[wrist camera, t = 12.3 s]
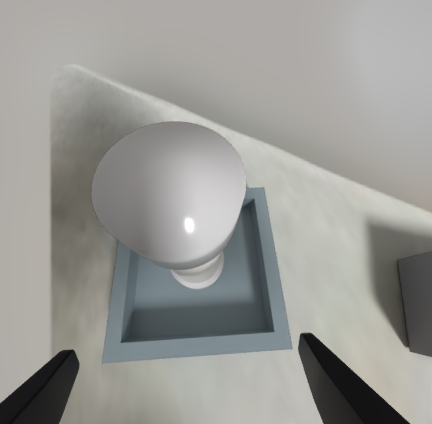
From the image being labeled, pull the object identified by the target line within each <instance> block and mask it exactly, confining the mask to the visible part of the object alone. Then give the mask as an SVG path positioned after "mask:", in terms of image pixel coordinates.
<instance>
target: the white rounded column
mask: <svg viewBox="0 0 432 424" xmlns="http://www.w3.org/2000/svg"><path fill="white" fill-rule="evenodd" d="M245 192H246V172H245V168H244V165H243V162H242V160H241V157H240V156H239V154H238V152H237V151H236V149H235V148H234V147H233V146H232V144H231V143H230V142H228V141H227V140H226V139H225V138H224V137H223V136H221V135H220V134H218V133H217V132H215V131H213V130H211V129H209V128H206V127H204V126H201V125H198V124H193V123H188V122H161V123H156V124H152V125H148V126H145V127H142V128H140V129H137V130H135V131H133V132H131V133H129V134H128V135H126V136H125V137H123V138H122V139H120V140H119V141H118V142H116V143H115V144H114V145H113V146H112V147H111V148H110V149H109V150H108V151H107V153H106V154H105V155H104V156H103V158H102V159H101V161H100V163H99V165H98V166H97V169H96V171H95V174H94V177H93V181H92V190H91V193H92V203H93V207H94V210H95V213H96V215H97V217H98V219H99V221H100V222H101V224H102V225H103V227H104V228H105V229H106V230H107V231H108V232H109V233H110V234H111V235H112V236H113V237H115V238H116V239H117V240H119V241H120V242H122V243H123V244H124V245H126V246H127V247H129V248H130V249H132V250H133V251H135V252H136V253H137V254H139V255H140V256H142V257H143V258H145V259H146V260H148V261H149V262H151V263H153V264H155V265H157V266H159V267H162V268H166V269H170V270H171V273H172V275H173V276H174V278H175V279H176V280H177V281H178V282H180V283H181V284H182V285H184V286H185V287H187V288H189V289H193V290H203V289H206V288H208V287H210V286H212V285H213V284H214V283H215V282H216V281H217V280H218V279H219V277H220V275H221V272H222V269H223V265H224V253H223V250H224V249H225V247H226V246H227V245H228V243H229V241H230V239H231V238H232V235H233V232H234V230H235V226H236V223H237V220H238V216H239V213H240V210H241V207H242V203H243V200H244V196H245Z"/></svg>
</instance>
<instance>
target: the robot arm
mask: <svg viewBox="0 0 432 424" xmlns="http://www.w3.org/2000/svg"><path fill="white" fill-rule="evenodd" d="M298 350H299V355H300V358H301V361H302V364H303V367H304V371H305V374H306V377H307V380H308V383H309V386H310V390H311V393H312V396H313V399H314V401H315V404H316V406H317V409H318V411H319V414H320V416H321V419H322V421H323V423H324V424H410V423H409V422H408V421H407V420H406V419H404V418H403V417H402V416H401V415H400V414H399V413H398V412H397V411H396V410H395V409H394V408H392V407H391V406H390V405H389V404H388V403H387V402H386V401H385V400H384V399H383V398H382V397H381V396H379V395H378V394H377V393H376V392H375V391H374V390H373V389H372V388H371V387H370V386H369V385H367V384H366V383H365V382H364V381H363V380H362V379H361V378H360V377H359V376H358V375H357V374H356V373H354V372H353V371H352V370H351V369H350V368H349V367H348V366H347V365H346V364H345V363H344V362H343V361H341V360H340V359H339V358H338V357H337V356H336V355H335V354H334V353H333V352H332V351H331V350H329V349H328V348H327V347H326V346H325V345H324V344H323V343H322V342H321V341H320V340H319V339H318V338H316V337H315V336H314V335H313V334H312V333H301V334H300V339H299V346H298ZM78 370H79V361H78V358H77V356H76V353H75V351H74V350H63V351H61V352H59V353H58V354H57V355H56V356H54V357H53V358H52V359H51V360H50V361H49V362H48V363H46V364H45V365H44V366H43V367H42V368H41V369H39V370H38V371H37V372H36V373H35V374H34V375H33V376H31V377H30V378H29V379H28V380H27V381H26V382H24V383H23V384H22V385H21V386H20V387H19V388H17V389H16V390H15V391H14V392H13V393H12V394H11V395H9V396H8V397H7V398H6V399H5V400H4V401H2V402H1V403H0V424H59V422H60V420H61V417H62V415H63V412H64V409H65V406H66V404H67V401H68V398H69V395H70V393H71V390H72V387H73V384H74V382H75V379H76V376H77V373H78Z"/></svg>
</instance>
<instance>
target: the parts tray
mask: <svg viewBox="0 0 432 424" xmlns="http://www.w3.org/2000/svg"><path fill="white" fill-rule="evenodd" d="M223 253H224V265H223V269H222V272H221V275H220V277H219V279H218V280H217V281H216V282H215V283H214V284H213V285H212V286H210V287H208V288H206V289H203V290H193V289H189V288H187V287H185V286H184V285H182V284H181V283H180V282H178V281H177V280H176V279H175V278H174V276H173V275H172V273H171V270H170V269H166V268H162V267H159V266H157V265H155V264H153V263H151V262H149V261H148V260H146V259H145V258H143V257H142V256H140V255H139V254H137V253H136V252H135V251H133V250H132V249H130V248H129V247H127V246H126V245H124V244H123V243H122V242H120V241H119V240H118V247H117V255H116V262H115V269H114V277H113V284H112V292H111V299H110V306H109V314H108V321H107V328H106V336H105V343H104V351H103V358H102V363H112V362H125V361H138V360H152V359H165V358H179V357H192V356H205V355H219V354H232V353H245V352H259V351H272V350H285V349H293V348H292V342H291V337H290V331H289V325H288V320H287V314H286V308H285V303H284V297H283V291H282V286H281V280H280V274H279V269H278V263H277V257H276V252H275V246H274V240H273V235H272V229H271V223H270V218H269V212H268V206H267V201H266V195H265V189H264V187H261V188H246V192H245V196H244V200H243V203H242V207H241V210H240V213H239V216H238V220H237V223H236V226H235V230H234V232H233V235H232V238H231V239H230V241H229V243H228V245H227V246H226V247H225V249H224V250H223Z"/></svg>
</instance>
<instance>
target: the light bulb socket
mask: <svg viewBox="0 0 432 424" xmlns="http://www.w3.org/2000/svg"><path fill="white" fill-rule="evenodd" d="M398 266H399V273H400V281H401V288H402V296H403V303H404V311H405V318H406V326H407V333H408V340H409V348H410V352H414V353H418V354H422V355H426V356H430V357H432V252H428V253H424V254H419V255H415V256H411V257H407V258H403V259H398Z"/></svg>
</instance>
